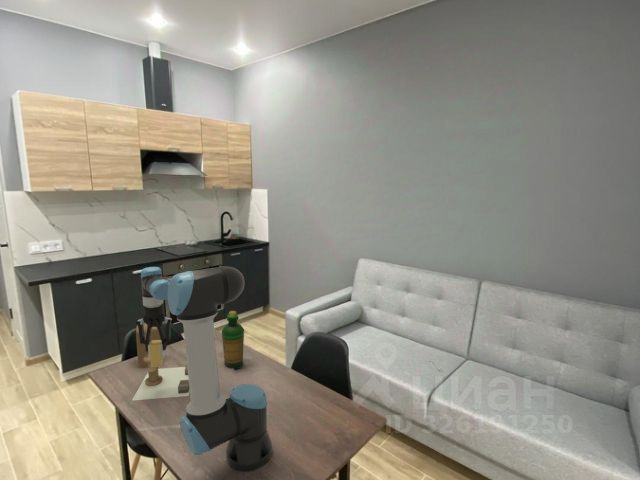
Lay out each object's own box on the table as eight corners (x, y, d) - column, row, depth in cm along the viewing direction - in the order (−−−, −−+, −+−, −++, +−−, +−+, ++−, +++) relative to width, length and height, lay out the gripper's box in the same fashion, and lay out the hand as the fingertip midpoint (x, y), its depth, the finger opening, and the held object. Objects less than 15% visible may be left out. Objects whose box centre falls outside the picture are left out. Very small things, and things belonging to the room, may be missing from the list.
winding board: (188, 398, 146) (188, 395, 146) (131, 403, 142) (131, 400, 142) (197, 368, 169) (197, 366, 169) (149, 371, 166) (149, 369, 165)
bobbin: (160, 385, 153) (158, 360, 151) (143, 386, 152) (141, 361, 150) (164, 376, 160) (162, 352, 158) (148, 377, 158) (146, 353, 156)
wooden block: (139, 360, 175) (136, 323, 172) (161, 356, 180) (158, 320, 176) (138, 370, 167) (135, 331, 163) (161, 366, 171) (159, 327, 167)
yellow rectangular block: (161, 366, 146) (159, 344, 144) (150, 367, 145) (149, 344, 143) (163, 361, 150) (162, 339, 148) (153, 362, 149) (152, 340, 147)
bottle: (218, 369, 169) (216, 314, 164) (230, 358, 179) (228, 307, 174) (237, 373, 166) (236, 317, 161) (248, 362, 176) (247, 309, 171)
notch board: (188, 392, 148) (187, 385, 148) (178, 393, 148) (177, 386, 147) (195, 368, 167) (195, 363, 166) (187, 369, 166) (186, 363, 166)
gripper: (177, 300, 148) (179, 351, 152) (133, 302, 145) (137, 354, 149) (173, 306, 141) (176, 360, 145) (127, 309, 138) (131, 363, 141)
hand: (156, 357), depth 147 cm, fingers closed on yellow rectangular block, 4 cm apart
